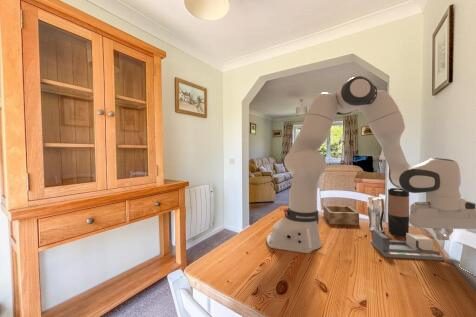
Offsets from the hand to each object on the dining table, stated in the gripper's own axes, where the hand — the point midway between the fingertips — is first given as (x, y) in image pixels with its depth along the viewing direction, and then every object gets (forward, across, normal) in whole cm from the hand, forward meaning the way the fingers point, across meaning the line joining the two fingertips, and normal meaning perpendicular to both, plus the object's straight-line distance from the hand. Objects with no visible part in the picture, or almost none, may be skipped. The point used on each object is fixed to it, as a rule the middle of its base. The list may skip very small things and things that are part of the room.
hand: (442, 239), depth 74 cm
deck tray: (+5, -25, +34) cm, 42 cm away
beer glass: (+5, -13, +21) cm, 25 cm away
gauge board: (+5, -13, 0) cm, 14 cm away
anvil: (+3, -21, 0) cm, 21 cm away
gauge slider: (+3, -8, -1) cm, 9 cm away
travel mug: (+5, -5, +18) cm, 19 cm away
